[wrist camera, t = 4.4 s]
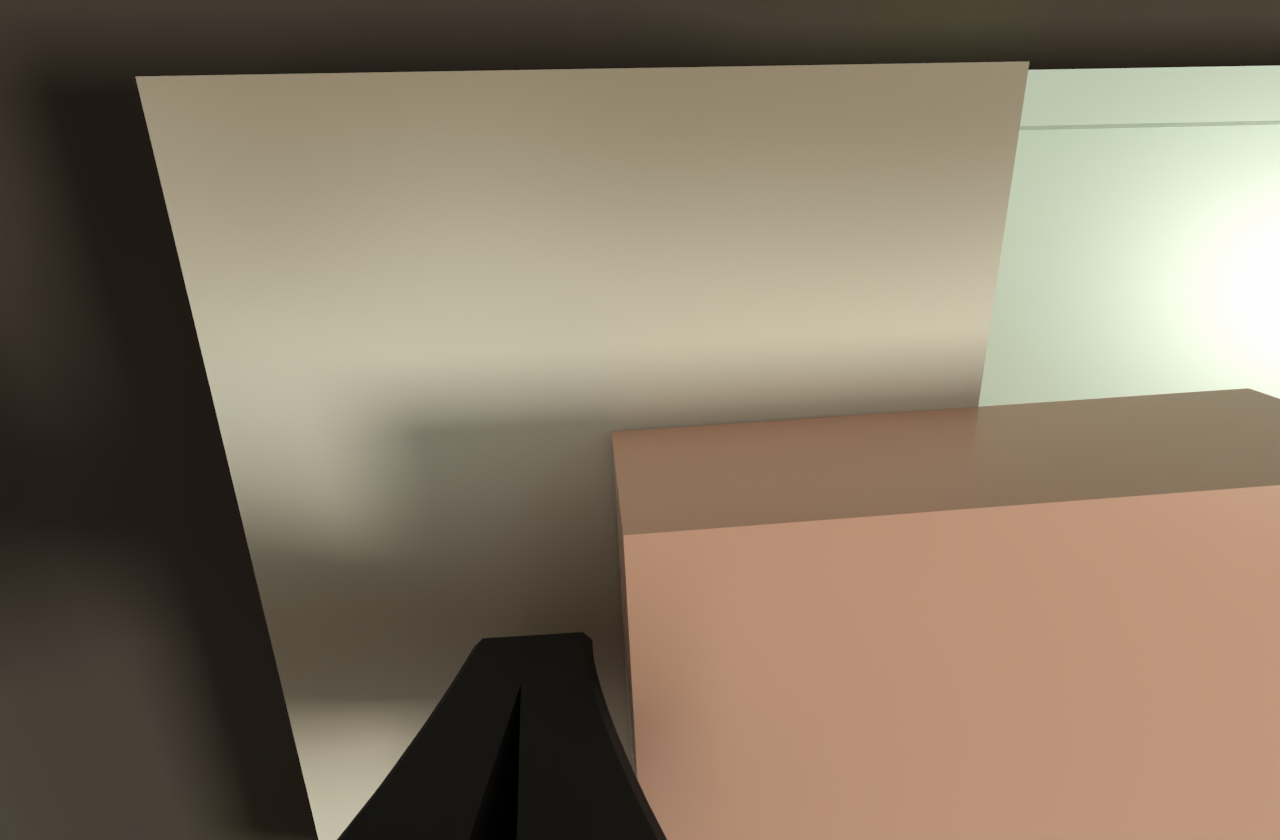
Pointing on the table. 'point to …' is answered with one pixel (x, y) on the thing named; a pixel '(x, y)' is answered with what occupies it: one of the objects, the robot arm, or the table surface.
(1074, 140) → the box
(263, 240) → the bench plate
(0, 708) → the table surface
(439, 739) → the robot arm
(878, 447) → the tile
